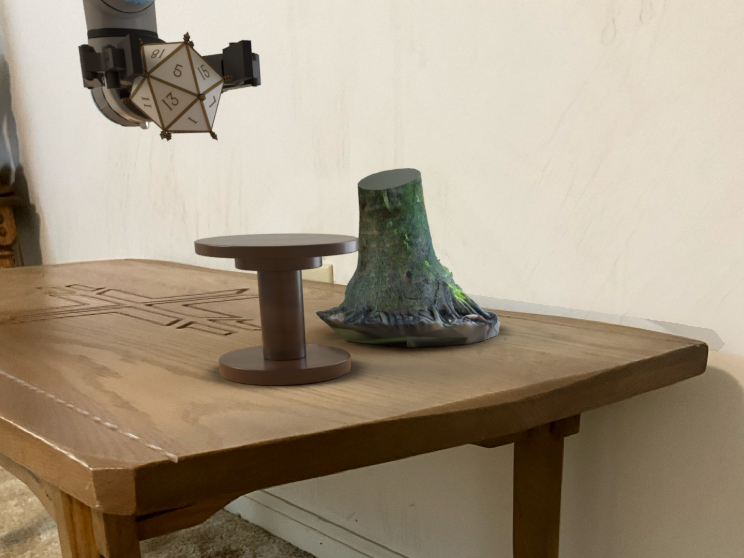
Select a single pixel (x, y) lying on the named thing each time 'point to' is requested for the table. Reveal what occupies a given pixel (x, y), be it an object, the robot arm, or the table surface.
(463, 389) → the table surface
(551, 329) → the table surface
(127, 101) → the game die
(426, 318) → the tree stump
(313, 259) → the pedestal stand
